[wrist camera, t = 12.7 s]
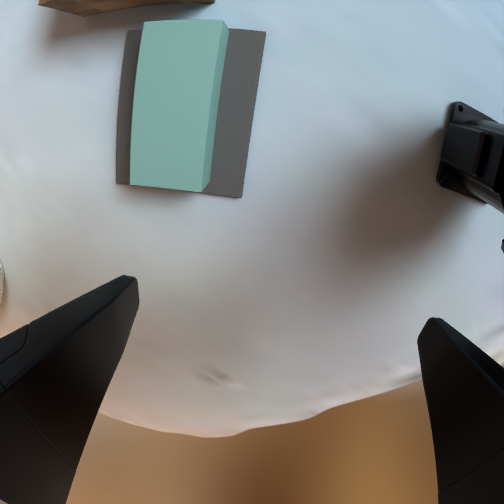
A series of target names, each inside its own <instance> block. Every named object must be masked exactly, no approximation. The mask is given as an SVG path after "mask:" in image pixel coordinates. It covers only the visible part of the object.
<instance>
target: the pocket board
mask: <svg viewBox="0 0 504 504" xmlns="http://www.w3.org/2000/svg"><path fill="white" fill-rule="evenodd" d="M174 3H215V0H39V4H38V5H40V6H45V7H49V8H53V9H57V10H61V11H65V12H69V13H72V14H76V15H79V16H88V15H92V14H97V13H102V12H107V11H112V10H118V9H125V8H132V7H140V6H148V5H159V4H174Z"/></svg>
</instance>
